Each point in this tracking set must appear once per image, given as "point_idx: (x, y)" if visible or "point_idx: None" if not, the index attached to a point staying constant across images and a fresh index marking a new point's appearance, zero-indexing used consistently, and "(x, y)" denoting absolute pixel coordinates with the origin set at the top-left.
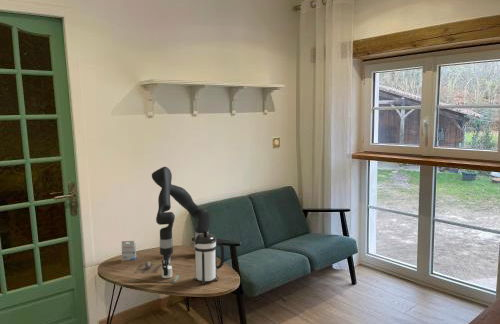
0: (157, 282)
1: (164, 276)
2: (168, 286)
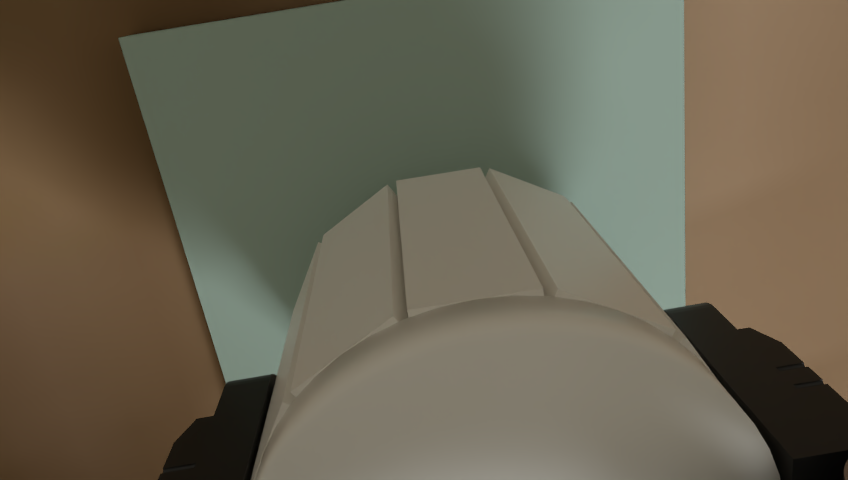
0: (148, 114)
1: (286, 340)
2: (62, 453)
